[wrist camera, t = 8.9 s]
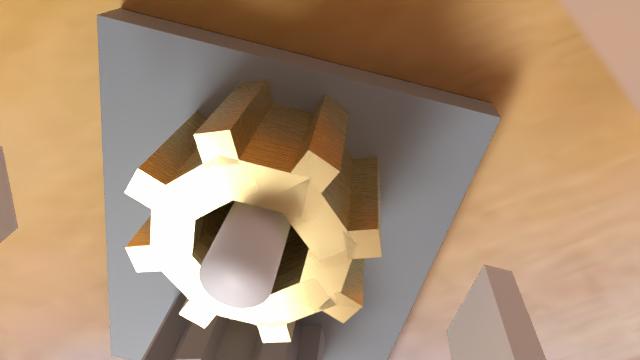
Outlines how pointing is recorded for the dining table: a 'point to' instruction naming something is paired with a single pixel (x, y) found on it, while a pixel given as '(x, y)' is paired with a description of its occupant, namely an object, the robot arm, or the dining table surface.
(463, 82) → the dining table surface
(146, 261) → the brass gear
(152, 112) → the gear board
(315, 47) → the dining table surface
